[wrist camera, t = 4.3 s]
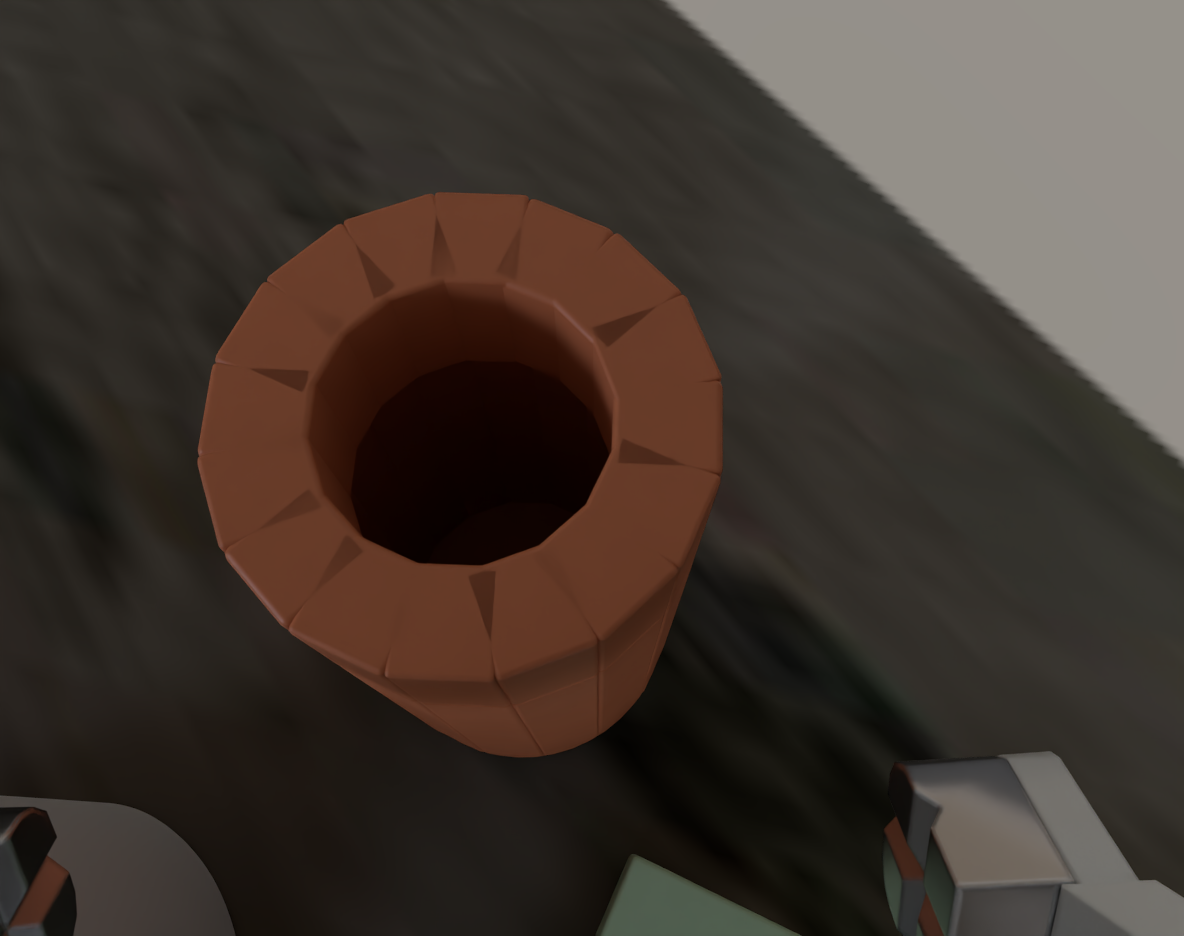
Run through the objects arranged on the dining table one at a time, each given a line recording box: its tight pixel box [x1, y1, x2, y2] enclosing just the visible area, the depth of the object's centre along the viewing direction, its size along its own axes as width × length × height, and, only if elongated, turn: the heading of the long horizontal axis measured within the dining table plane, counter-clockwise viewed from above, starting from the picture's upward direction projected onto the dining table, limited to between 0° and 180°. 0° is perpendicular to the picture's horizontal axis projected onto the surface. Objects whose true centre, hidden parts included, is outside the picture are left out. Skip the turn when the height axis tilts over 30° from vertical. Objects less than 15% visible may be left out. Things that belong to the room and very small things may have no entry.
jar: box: [198, 192, 723, 757], centre depth 15 cm, size 5×5×10 cm
